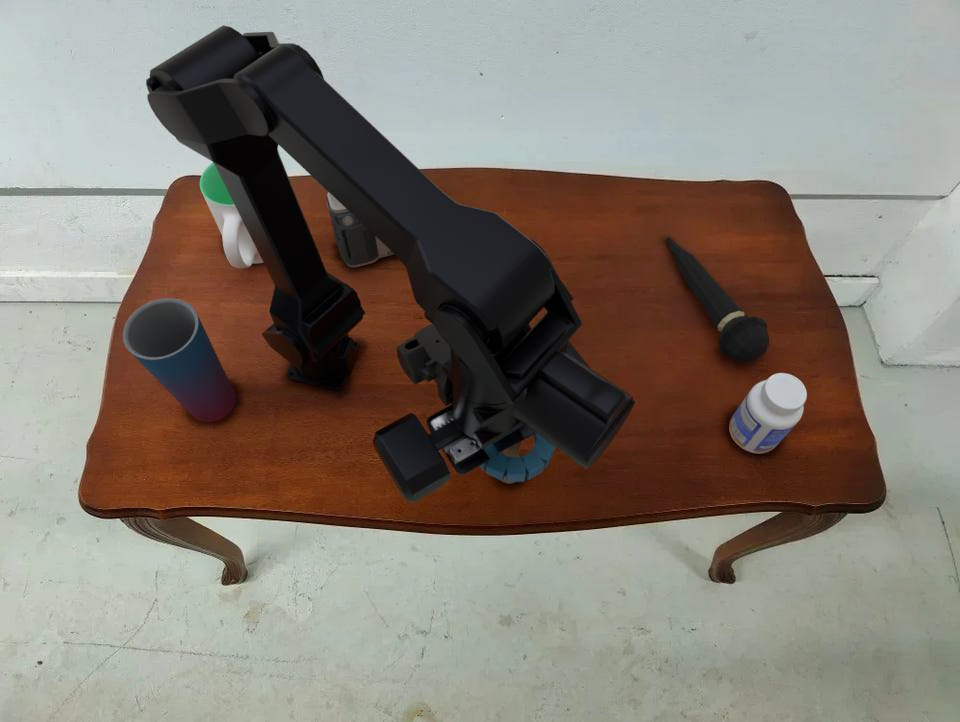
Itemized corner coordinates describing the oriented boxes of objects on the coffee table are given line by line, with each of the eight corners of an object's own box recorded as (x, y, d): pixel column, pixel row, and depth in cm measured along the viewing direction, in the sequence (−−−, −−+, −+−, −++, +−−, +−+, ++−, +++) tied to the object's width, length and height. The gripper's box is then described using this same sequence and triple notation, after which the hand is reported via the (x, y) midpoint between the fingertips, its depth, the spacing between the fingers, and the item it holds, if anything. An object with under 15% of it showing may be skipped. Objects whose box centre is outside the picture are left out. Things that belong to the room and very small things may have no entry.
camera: (343, 272, 87) (329, 217, 78) (335, 237, 90) (320, 180, 81) (433, 252, 89) (429, 196, 80) (422, 219, 92) (417, 161, 83)
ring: (473, 483, 65) (473, 476, 64) (470, 407, 69) (470, 399, 68) (557, 480, 66) (559, 473, 64) (549, 405, 70) (551, 397, 68)
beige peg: (493, 480, 74) (496, 441, 65) (499, 457, 75) (503, 416, 66) (518, 486, 73) (524, 447, 65) (523, 463, 75) (530, 423, 66)
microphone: (651, 263, 92) (735, 379, 81) (645, 235, 87) (733, 354, 76) (689, 243, 92) (779, 357, 80) (686, 214, 87) (780, 331, 75)
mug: (284, 288, 86) (262, 232, 77) (217, 290, 86) (188, 233, 77) (294, 213, 92) (275, 153, 83) (232, 214, 92) (205, 154, 83)
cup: (231, 434, 76) (181, 365, 63) (171, 424, 76) (109, 353, 64) (252, 380, 79) (209, 303, 66) (195, 370, 80) (141, 292, 67)
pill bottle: (783, 421, 77) (821, 378, 69) (771, 462, 75) (809, 423, 67) (734, 402, 79) (765, 357, 70) (721, 443, 76) (752, 401, 68)
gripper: (533, 246, 58) (521, 346, 72) (327, 348, 53) (356, 434, 67) (615, 344, 54) (586, 431, 67) (399, 466, 48) (414, 533, 62)
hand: (486, 453), depth 66 cm, fingers closed on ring, 2 cm apart
